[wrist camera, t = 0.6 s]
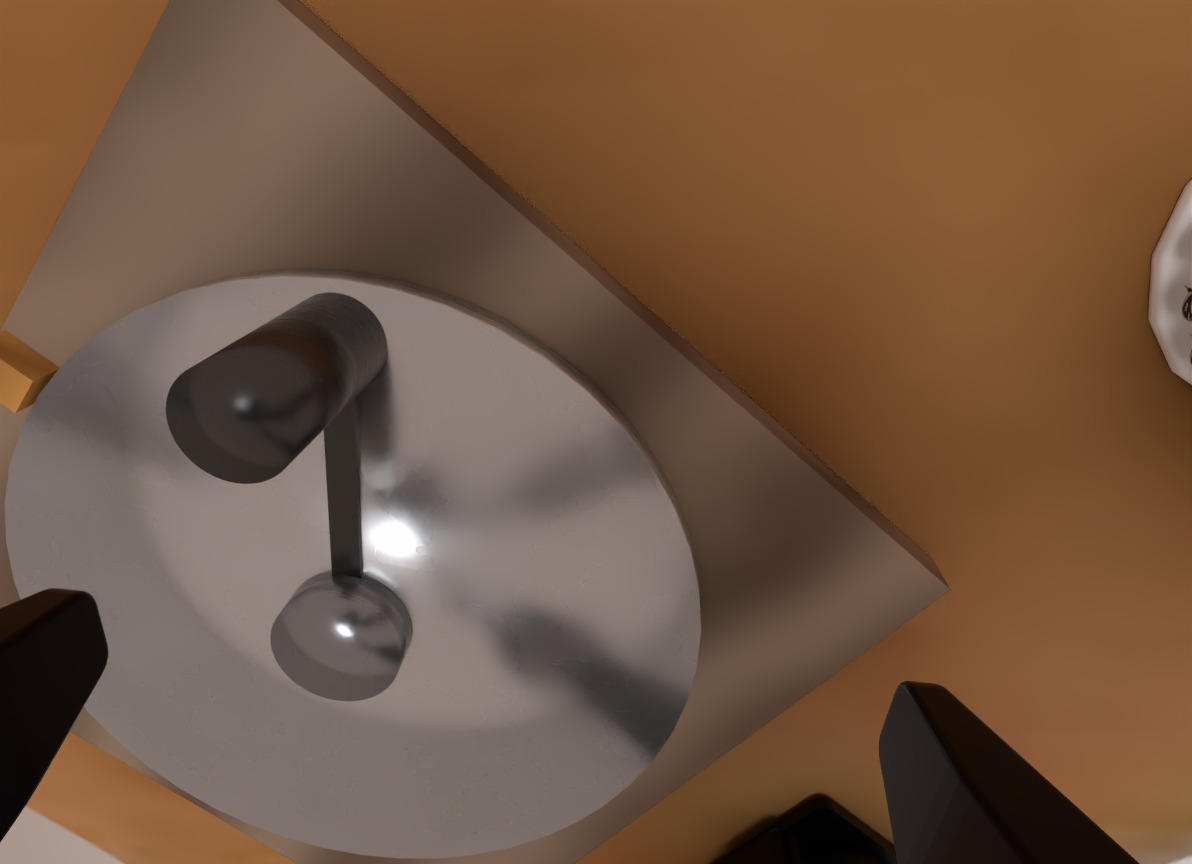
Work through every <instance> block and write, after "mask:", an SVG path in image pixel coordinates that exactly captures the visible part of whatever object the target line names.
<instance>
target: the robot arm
mask: <svg viewBox="0 0 1192 864" xmlns="http://www.w3.org/2000/svg"><path fill="white" fill-rule="evenodd" d="M107 660H108V644H107V640H106V636H105V633H104V629H103V625H102V621H101V617H100V614H99V610H98V606H97V603H96V600H95V598H94V597H93V596H92V595H91V594H90V593H88V592H85V591H80V590H71V589H62V588H50V589H45V590H43V591H40V592H38V593H35V594H33V595H31V596H28V597H26V598H24V599H21V600H19V601H16V602H14V603H12V604H9V605H7V606H5V607H2V608H0V842H1V840H2V839H3V837H4V836H5V835H6V833H7V832H8V831H9V829H10V827H11V826H12V825H13V823H14V822H15V820H16V819H17V817H18V816H19V814H20V813H21V811H22V810H23V808H24V807H25V806H26V804H27V802H28V801H29V799H30V798H31V796H32V794H33V793H34V791H35V789H36V788H37V786H38V785H39V783H40V781H41V780H42V778H43V776H44V774H45V773H46V771H47V769H48V768H49V766H50V764H51V762H52V761H53V759H54V757H55V755H56V754H57V752H58V750H59V748H60V747H61V745H62V743H63V741H64V740H65V738H66V736H67V735H68V733H69V731H70V729H71V728H72V726H73V724H74V722H75V721H76V719H77V717H78V715H79V714H80V712H81V710H82V708H83V707H84V705H85V703H86V702H87V700H88V698H89V696H90V695H91V693H92V691H93V689H94V688H95V686H96V684H97V682H98V681H99V679H100V677H101V676H102V674H103V672H104V669H105V667H106V664H107ZM879 757H880V763H881V769H882V775H883V781H884V786H885V792H886V798H887V804H888V810H889V815H890V821H891V827H892V833H893V839H894V845H895V848H894V847H893V846H892V845H890V844H889V843H888V842H886V841H885V840H884V839H882V838H881V837H880V836H878V835H877V834H876V833H874V832H873V831H872V830H870V829H869V828H867V827H866V826H865V825H863V824H862V823H861V822H859V821H858V820H857V819H855V818H854V817H853V816H851V815H850V814H849V813H847V812H846V811H845V810H843V809H842V808H840V807H839V806H838V805H836V804H835V803H834V802H832V801H831V800H829V799H827V798H815V799H813V800H811V801H809V802H808V803H806V804H805V805H803V806H802V807H800V808H799V809H797V810H796V811H794V812H793V813H791V814H790V815H788V816H787V817H785V818H784V819H782V820H780V821H779V822H777V823H776V824H774V825H773V826H771V827H770V828H768V829H767V830H765V831H764V832H762V833H761V834H759V835H758V836H756V837H755V838H753V839H752V840H750V841H749V842H747V843H746V844H744V845H743V846H741V847H740V848H738V849H737V850H735V851H733V852H732V853H730V854H729V855H727V856H726V857H724V858H723V859H721V860H720V861H718V862H717V863H715V864H1139V863H1138V862H1137V861H1136V860H1135V859H1134V858H1133V857H1132V856H1131V855H1130V854H1128V853H1127V852H1126V851H1125V850H1124V849H1123V848H1122V847H1121V846H1120V845H1118V844H1117V843H1116V842H1115V841H1114V840H1113V839H1112V838H1111V837H1110V836H1109V835H1107V834H1106V833H1105V832H1104V831H1103V830H1102V829H1101V828H1100V827H1099V826H1097V825H1096V824H1095V823H1094V822H1093V821H1092V820H1091V819H1090V818H1089V817H1088V816H1086V815H1085V814H1084V813H1083V812H1082V811H1081V810H1080V809H1079V808H1078V807H1076V806H1075V805H1074V804H1073V803H1072V802H1071V801H1070V800H1069V799H1068V798H1067V797H1065V796H1064V795H1063V794H1062V793H1061V792H1060V791H1059V790H1058V789H1057V788H1055V787H1054V786H1053V785H1052V784H1051V783H1050V782H1049V781H1048V780H1047V779H1046V778H1044V777H1043V776H1042V775H1041V774H1040V773H1039V772H1038V771H1037V770H1036V769H1034V768H1033V767H1032V766H1031V765H1030V764H1029V763H1028V762H1027V761H1026V760H1025V759H1023V758H1022V757H1021V756H1020V755H1019V754H1018V753H1017V752H1016V751H1015V750H1013V749H1012V748H1011V747H1010V746H1009V745H1008V744H1007V743H1006V742H1005V741H1004V740H1002V739H1001V738H1000V737H999V736H998V735H997V734H996V733H995V732H994V731H992V730H991V729H990V728H989V727H988V726H987V725H986V724H985V723H984V722H983V721H981V720H980V719H979V718H978V717H977V716H976V715H975V714H974V713H973V712H971V711H970V710H969V709H968V708H967V707H966V706H965V705H964V704H963V703H962V702H960V701H959V700H958V699H957V698H956V697H955V696H954V695H953V694H952V693H950V692H949V691H948V690H947V689H946V688H944V687H943V686H941V685H938V684H932V683H923V682H914V681H905V682H902V683H901V684H900V685H899V686H898V688H897V690H896V692H895V694H894V697H893V700H892V703H891V706H890V708H889V711H888V714H887V717H886V720H885V723H884V725H883V728H882V731H881V734H880V740H879Z"/></svg>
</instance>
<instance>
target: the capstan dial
mask: <svg viewBox="0 0 1192 864" xmlns="http://www.w3.org/2000/svg"><path fill="white" fill-rule="evenodd" d="M5 526H6V543H7V549H8V554H9V559H10V564H11V569H12V574H13V579H14V582H15V585H16V588H17V591H18V594H19V596H20V599H24V598H26V597H28V596H31V595H33V594H35V593H38V592H40V591H43V590H45V589H50V588H62V589H71V590H80V591H85V592H88V593H90V594H91V595H92V596H93V597H94V598H95V600H96V603H97V606H98V610H99V614H100V617H101V621H102V625H103V629H104V633H105V636H106V640H107V644H108V660H107V664H106V667H105V669H104V672H103V674H102V676H101V677H100V679H99V681H98V682H97V684H96V686H95V688H94V689H93V691H92V693H91V695H90V696H89V698H88V700H87V702H86V703H85V705H84V707H85V708H86V710H87V711H88V712H89V713H90V714H91V715H92V716H93V717H94V718H95V719H96V720H97V721H98V722H99V723H100V724H101V725H102V726H103V727H104V728H105V729H106V730H107V731H108V732H109V733H110V734H111V735H112V736H113V737H114V738H115V739H116V740H117V741H118V742H119V743H120V744H121V745H123V746H124V747H125V748H126V749H127V750H129V751H130V752H131V753H132V754H133V755H135V756H136V757H137V758H138V759H139V760H141V761H142V762H143V763H144V764H145V765H147V766H148V767H149V768H151V769H152V770H154V771H155V772H157V773H158V774H159V775H161V776H162V777H164V778H165V779H167V780H168V781H170V782H171V783H173V784H174V785H176V786H177V787H178V788H180V789H181V790H183V791H185V792H187V793H189V794H190V795H192V796H194V797H196V798H197V799H199V800H201V801H203V802H204V803H206V804H208V805H210V806H211V807H213V808H215V809H217V810H219V811H222V812H224V813H226V814H228V815H230V816H232V817H235V818H237V819H239V820H241V821H243V822H245V823H248V824H250V825H252V826H255V827H258V828H261V829H263V830H266V831H269V832H272V833H274V834H277V835H280V836H283V837H286V838H289V839H292V840H296V841H300V842H303V843H307V844H311V845H315V846H318V847H322V848H326V849H332V850H337V851H343V852H348V853H354V854H359V855H367V856H378V857H389V858H417V859H437V858H448V857H459V856H469V855H476V854H481V853H487V852H492V851H497V850H502V849H507V848H511V847H514V846H517V845H521V844H524V843H527V842H530V841H534V840H537V839H540V838H543V837H545V836H547V835H550V834H552V833H554V832H556V831H559V830H561V829H563V828H566V827H568V826H570V825H572V824H574V823H576V822H578V821H579V820H581V819H583V818H584V817H586V816H588V815H590V814H591V813H593V812H595V811H596V810H598V809H600V808H601V807H603V806H604V805H605V804H607V803H608V802H609V801H611V800H612V799H613V798H614V797H616V796H617V795H618V794H619V793H621V792H622V791H623V790H624V789H626V788H627V787H628V786H630V784H631V783H632V782H633V781H634V780H635V779H636V778H637V777H638V776H639V775H640V774H641V773H642V772H643V771H644V770H645V769H646V768H647V766H648V765H649V764H650V763H651V762H652V761H653V760H654V758H655V757H656V756H657V754H658V753H659V751H660V750H661V748H662V747H663V745H664V744H665V743H666V741H667V740H668V738H669V737H670V735H671V734H672V732H673V730H674V728H675V726H676V724H677V722H678V720H679V718H680V715H681V713H682V711H683V709H684V707H685V705H686V703H687V700H688V697H689V693H690V690H691V686H692V683H693V679H694V676H695V672H696V669H697V663H698V654H699V645H700V636H701V618H700V597H699V583H698V572H697V566H696V562H695V557H694V552H693V547H692V543H691V538H690V533H689V530H688V527H687V524H686V522H685V519H684V516H683V514H682V511H681V508H680V506H679V503H678V500H677V498H676V495H675V492H674V490H673V489H672V487H671V485H670V483H669V481H668V479H667V478H666V476H665V474H664V472H663V470H662V468H661V467H660V465H659V463H658V461H657V459H656V458H655V456H654V454H653V452H652V451H651V450H650V448H649V447H648V445H647V444H646V443H645V441H644V440H643V439H642V437H641V436H640V435H639V433H638V432H637V431H636V429H635V428H634V427H633V425H632V424H631V423H630V421H629V420H628V419H627V417H626V416H625V415H624V414H623V413H622V411H621V410H620V409H619V408H618V407H617V406H616V405H615V404H614V403H613V402H612V401H611V400H610V399H609V398H608V397H607V396H606V395H605V394H604V393H603V392H602V391H601V390H600V389H599V388H598V387H597V386H596V385H595V384H594V383H593V382H592V381H591V379H589V378H588V377H587V376H586V375H584V374H583V373H582V372H581V371H579V370H578V369H577V368H576V367H574V366H573V365H572V364H571V363H569V362H568V361H567V360H566V359H564V358H563V357H562V356H561V355H559V354H558V353H557V352H556V351H554V350H553V349H552V348H551V347H549V346H548V345H546V344H544V343H543V342H541V341H539V340H538V339H536V338H535V337H533V336H531V335H530V334H528V333H526V332H525V331H523V330H522V329H520V328H518V327H517V326H515V325H513V324H512V323H510V322H509V321H507V320H505V319H503V318H501V317H499V316H497V315H495V314H492V313H490V312H488V311H486V310H484V309H481V308H479V307H477V306H475V305H473V304H471V303H468V302H466V301H464V300H462V299H460V298H457V297H455V296H452V295H449V294H446V293H442V292H439V291H436V290H433V289H430V288H427V287H423V286H420V285H417V284H414V283H411V282H408V281H404V280H399V279H394V278H388V277H383V276H377V275H372V274H367V273H361V272H356V271H347V270H327V269H308V268H294V269H282V270H270V271H259V272H248V273H244V274H240V275H235V276H231V277H227V278H222V279H218V280H214V281H210V282H205V283H201V284H199V285H196V286H194V287H191V288H189V289H187V290H184V291H182V292H179V293H177V294H174V295H172V296H169V297H167V298H164V299H162V300H159V301H157V302H154V303H152V304H150V305H147V306H145V307H143V308H140V309H138V310H135V311H133V312H132V313H130V314H128V315H127V316H125V317H124V318H122V319H120V320H119V321H117V322H115V323H114V324H112V325H110V326H109V327H107V328H106V329H104V330H102V331H101V332H99V333H97V334H96V335H95V336H94V337H92V338H91V339H90V340H89V341H88V342H87V343H86V344H84V345H83V346H82V347H81V348H80V349H79V350H78V351H77V352H75V353H74V354H73V355H72V356H71V357H70V358H69V359H67V360H66V361H65V362H64V363H63V364H62V366H61V367H60V368H59V369H58V371H57V372H56V373H55V375H54V376H53V377H52V378H51V380H50V381H49V382H48V383H47V385H46V386H45V387H44V389H43V390H42V391H41V392H40V394H39V395H38V397H37V399H36V401H35V403H34V405H33V407H32V408H31V410H30V412H29V414H28V416H27V418H26V420H25V422H24V424H23V426H22V428H21V430H20V433H19V436H18V439H17V443H16V446H15V449H14V452H13V456H12V459H11V462H10V465H9V472H8V480H7V488H6V497H5Z"/></svg>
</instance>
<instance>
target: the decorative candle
mask: <svg viewBox="0 0 1192 864" xmlns="http://www.w3.org/2000/svg"><path fill="white" fill-rule="evenodd" d="M1148 321H1149V323H1150V325H1151V328H1152V330H1153V332H1154V334H1155V336H1156V339H1157V341H1158V343H1159V345H1160V347H1161V350H1162V352H1163V354H1164V356H1165V358H1166V361H1167V363H1168V365H1169V367H1170V369H1171V371H1172V372H1174V373H1175V374H1177V375H1178V376H1179V377H1181V378H1182V379H1184V380H1185V381H1186V382H1188V383H1189V384H1191V385H1192V179H1191V180H1190V181H1189V182H1188V183H1187V184H1186V185H1185V187H1184V189H1183V191H1182V193H1181V195H1180V197H1179V199H1178V201H1177V203H1176V206H1175V208H1174V210H1173V212H1172V214H1171V216H1170V218H1169V220H1168V222H1167V225H1166V227H1165V229H1164V231H1163V233H1162V235H1161V237H1160V239H1159V241H1158V243H1157V246H1156V248H1155V250H1154V252H1153V254H1152V259H1151V276H1150V293H1149V309H1148Z"/></svg>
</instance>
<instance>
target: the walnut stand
mask: <svg viewBox="0 0 1192 864" xmlns="http://www.w3.org/2000/svg"><path fill="white" fill-rule="evenodd" d="M294 268H308V269H327V270H347V271H356V272H361V273H367V274H372V275H377V276H383V277H388V278H394V279H399V280H404V281H408V282H411V283H414V284H417V285H420V286H423V287H427V288H430V289H433V290H436V291H439V292H442V293H446V294H449V295H452V296H455V297H457V298H460V299H462V300H464V301H466V302H468V303H471V304H473V305H475V306H477V307H479V308H481V309H484V310H486V311H488V312H490V313H492V314H495V315H497V316H499V317H501V318H503V319H505V320H507V321H509V322H510V323H512V324H513V325H515V326H517V327H518V328H520V329H522V330H523V331H525V332H526V333H528V334H530V335H531V336H533V337H535V338H536V339H538V340H539V341H541V342H543V343H544V344H546V345H548V346H549V347H551V348H552V349H553V350H554V351H556V352H557V353H558V354H559V355H561V356H562V357H563V358H564V359H566V360H567V361H568V362H569V363H571V364H572V365H573V366H574V367H576V368H577V369H578V370H579V371H581V372H582V373H583V374H584V375H586V376H587V377H588V378H589V379H591V381H592V382H593V383H594V384H595V385H596V386H597V387H598V388H599V389H600V390H601V391H602V392H603V393H604V394H605V395H606V396H607V397H608V398H609V399H610V400H611V401H612V402H613V403H614V404H615V405H616V406H617V407H618V408H619V409H620V410H621V411H622V413H623V414H624V415H625V416H626V417H627V419H628V420H629V421H630V423H631V424H632V425H633V427H634V428H635V429H636V431H637V432H638V433H639V435H640V436H641V437H642V439H643V440H644V441H645V443H646V444H647V445H648V447H649V448H650V450H651V451H652V452H653V454H654V456H655V458H656V459H657V461H658V463H659V465H660V467H661V468H662V470H663V472H664V474H665V476H666V478H667V479H668V481H669V483H670V485H671V487H672V489H673V490H674V492H675V495H676V498H677V500H678V503H679V506H680V508H681V511H682V514H683V516H684V519H685V522H686V524H687V527H688V530H689V533H690V538H691V543H692V547H693V552H694V557H695V562H696V566H697V572H698V583H699V597H700V618H701V636H700V645H699V654H698V663H697V669H696V672H695V676H694V679H693V683H692V686H691V690H690V693H689V697H688V700H687V703H686V705H685V707H684V709H683V711H682V713H681V715H680V718H679V720H678V722H677V724H676V726H675V728H674V730H673V732H672V734H671V735H670V737H669V738H668V740H667V741H666V743H665V744H664V745H663V747H662V748H661V750H660V751H659V753H658V754H657V756H656V757H655V758H654V760H653V761H652V762H651V763H650V764H649V765H648V766H647V768H646V769H645V770H644V771H643V772H642V773H641V774H640V775H639V776H638V777H637V778H636V779H635V780H634V781H633V782H632V783H631V784H630V786H628V787H627V788H626V789H624V790H623V791H622V792H621V793H619V794H618V795H617V796H616V797H614V798H613V799H612V800H611V801H609V802H608V803H607V804H605V805H604V806H603V807H601V808H600V809H598V810H596V811H595V812H593V813H591V814H590V815H588V816H586V817H584V818H583V819H581V820H579V821H578V822H576V823H574V824H572V825H570V826H568V827H566V828H563V829H561V830H559V831H556V832H554V833H552V834H550V835H547V836H545V837H543V838H540V839H537V840H534V841H530V842H527V843H524V844H521V845H517V846H514V847H511V848H507V849H502V850H497V851H492V852H487V853H481V854H476V855H469V856H459V857H448V858H437V859H417V858H389V857H378V856H367V855H359V854H354V853H348V852H343V851H337V850H332V849H326V848H322V847H318V846H315V845H311V844H307V843H303V842H300V841H296V840H292V839H289V838H286V837H283V836H280V835H277V834H274V833H272V832H269V831H266V830H263V829H261V828H258V827H255V826H252V825H250V824H248V823H245V822H243V821H241V820H239V819H237V818H235V817H232V816H230V815H228V814H226V813H224V812H222V811H219V810H217V809H215V808H213V807H211V806H210V805H208V804H206V803H204V802H203V801H201V800H199V799H197V798H196V797H194V796H192V795H190V794H189V793H187V792H185V791H183V790H181V789H180V788H178V787H177V786H176V785H174V784H173V783H171V782H170V781H168V780H167V779H165V778H164V777H162V776H161V775H159V774H158V773H157V772H155V771H154V770H152V769H151V768H149V767H148V766H147V765H145V764H144V763H143V762H142V761H141V760H139V759H138V758H137V757H136V756H135V755H133V754H132V753H131V752H130V751H129V750H127V749H126V748H125V747H124V746H123V745H121V744H120V743H119V742H118V741H117V740H116V739H115V738H114V737H113V736H112V735H111V734H110V733H109V732H108V731H107V730H106V729H105V728H104V727H103V726H102V725H101V724H100V723H99V722H98V721H97V720H96V719H95V718H94V717H93V716H92V715H91V714H90V713H89V712H88V711H87V710H86V708H85V707H83V708H82V710H81V712H80V714H79V715H78V717H77V719H76V721H75V722H74V724H73V726H72V728H71V729H70V732H72V733H74V734H75V735H77V736H79V737H81V738H82V739H84V740H86V741H87V742H89V743H91V744H93V745H94V746H96V747H98V748H99V749H101V750H103V751H105V752H106V753H108V754H110V755H112V756H113V757H115V758H117V759H118V760H120V761H122V762H124V763H125V764H127V765H129V766H130V767H132V768H134V769H136V770H137V771H139V772H141V773H142V774H144V775H146V776H148V777H149V778H151V779H153V780H154V781H156V782H158V783H160V784H161V785H163V786H165V787H166V788H168V789H170V790H172V791H173V792H175V793H177V794H178V795H180V796H182V797H184V798H185V799H187V800H189V801H190V802H192V803H194V804H196V805H197V806H199V807H201V808H202V809H204V810H206V811H208V812H209V813H211V814H213V815H214V816H216V817H218V818H220V819H221V820H223V821H225V822H226V823H228V824H230V825H232V826H233V827H235V828H237V829H238V830H240V831H242V832H244V833H245V834H247V835H249V836H250V837H252V838H254V839H256V840H257V841H259V842H261V843H263V844H264V845H266V846H268V847H269V848H271V849H273V850H275V851H276V852H278V853H280V854H281V855H283V856H285V857H287V858H288V859H290V860H292V861H293V862H295V863H297V864H574V863H576V862H577V861H579V860H580V859H581V858H583V857H584V856H585V855H587V854H588V853H590V852H591V851H592V850H594V849H595V848H596V847H598V846H599V845H601V844H602V843H603V842H605V841H606V840H607V839H609V838H610V837H611V836H613V835H614V834H616V833H617V832H618V831H620V830H621V829H622V828H624V827H625V826H627V825H628V824H629V823H631V822H632V821H633V820H635V819H636V818H638V817H639V816H640V815H642V814H643V813H644V812H646V811H647V810H649V809H650V808H651V807H653V806H654V805H655V804H657V803H658V802H660V801H661V800H662V799H664V798H665V797H666V796H668V795H669V794H671V793H672V792H673V791H675V790H676V789H677V788H679V787H680V786H682V785H683V784H684V783H686V782H687V781H688V780H690V779H691V778H693V777H694V776H695V775H697V774H698V773H699V772H701V771H702V770H703V769H705V768H706V767H708V766H709V765H710V764H712V763H713V762H714V761H716V760H717V759H719V758H720V757H721V756H723V755H724V754H725V753H727V752H728V751H730V750H731V749H732V748H734V747H735V746H736V745H738V744H739V743H741V742H742V741H743V740H745V739H746V738H747V737H749V736H750V735H752V734H753V733H754V732H756V731H757V730H758V729H760V728H761V727H763V726H764V725H765V724H767V723H768V722H769V721H771V720H772V719H774V718H775V717H776V716H778V715H779V714H780V713H782V712H783V711H785V710H786V709H787V708H789V707H790V706H791V705H793V704H794V703H795V702H797V701H798V700H800V699H801V698H802V697H804V696H805V695H806V694H808V693H809V692H811V691H812V690H813V689H815V688H816V687H817V686H819V685H820V684H822V683H823V682H824V681H826V680H827V679H828V678H830V677H831V676H833V675H834V674H835V673H837V672H838V671H839V670H841V669H842V668H844V667H845V666H846V665H848V664H849V663H850V662H852V661H853V660H855V659H856V658H857V657H859V656H860V655H861V654H863V653H864V652H866V651H867V650H868V649H870V648H871V647H872V646H874V645H875V644H877V643H878V642H879V641H881V640H882V639H883V638H885V637H886V636H887V635H889V634H890V633H892V632H893V631H894V630H896V629H897V628H898V627H900V626H901V625H903V624H904V623H905V622H907V621H908V620H909V619H911V618H912V617H914V616H915V615H916V614H918V613H919V612H920V611H922V610H923V609H925V608H926V607H927V606H929V605H930V604H931V603H933V602H934V601H936V600H937V599H938V598H940V597H941V596H942V595H944V594H945V593H947V592H948V591H949V590H951V589H950V588H949V586H948V584H947V583H946V581H945V579H944V577H943V576H942V574H941V572H940V571H939V569H938V567H937V566H936V564H935V562H934V561H933V559H932V558H931V557H930V556H929V555H927V554H926V553H925V552H924V551H923V550H922V549H921V548H919V547H918V546H917V545H916V544H915V543H914V542H913V541H912V540H910V539H909V538H908V537H907V536H906V535H905V534H904V533H902V532H901V531H900V530H899V529H898V528H897V527H896V526H894V525H893V524H892V523H891V522H890V521H889V520H888V519H887V518H885V517H884V516H883V515H882V514H881V513H880V512H879V511H877V510H876V509H875V508H874V507H873V506H872V505H871V504H870V503H868V502H867V501H866V500H865V499H864V498H863V497H862V496H860V495H859V494H858V493H857V492H856V491H855V490H854V489H852V488H851V487H850V486H849V485H848V484H847V483H846V482H845V481H843V480H842V479H841V478H840V477H839V476H838V475H837V474H835V473H834V472H833V471H832V470H831V469H830V468H829V467H828V466H826V465H825V464H824V463H823V462H822V461H821V460H820V459H818V458H817V457H816V456H815V455H814V454H813V453H812V452H811V451H809V450H808V449H807V448H806V447H805V446H804V445H803V444H801V443H800V442H799V441H798V440H797V439H796V438H795V437H793V436H792V435H791V434H790V433H789V432H788V431H787V430H786V429H784V428H783V427H782V426H781V425H780V424H779V423H778V422H776V421H775V420H774V419H773V418H772V417H771V416H770V415H769V414H767V413H766V412H765V411H764V410H763V409H762V408H761V407H759V406H758V405H757V404H756V403H755V402H754V401H753V400H752V399H750V398H749V397H748V396H747V395H746V394H745V393H744V392H742V391H741V390H740V389H739V388H738V387H737V386H736V385H734V384H733V383H732V382H731V381H730V380H729V379H728V378H727V377H725V376H724V375H723V374H722V373H721V372H720V371H719V370H717V369H716V368H715V367H714V366H713V365H712V364H711V363H710V362H708V361H707V360H706V359H705V358H704V357H703V356H702V355H700V354H699V353H698V352H697V351H696V350H695V349H694V348H692V347H691V346H690V345H689V344H688V343H687V342H686V341H685V340H683V339H682V338H681V337H680V336H679V335H678V334H677V333H675V332H674V331H673V330H672V329H671V328H670V327H669V326H668V325H666V324H665V323H664V322H663V321H662V320H661V319H660V318H658V317H657V316H656V315H655V314H654V313H653V312H652V311H651V310H649V309H648V308H647V307H646V306H645V305H644V304H643V303H641V302H640V301H639V300H638V299H637V298H636V297H635V296H633V295H632V294H631V293H630V292H629V291H628V290H627V289H626V288H624V287H623V286H622V285H621V284H620V283H619V282H618V281H616V280H615V279H614V278H613V277H612V276H611V275H610V274H609V273H607V272H606V271H605V270H604V269H603V268H602V267H601V266H599V265H598V264H597V263H596V262H595V261H594V260H593V259H592V258H590V257H589V256H588V255H587V254H586V253H585V252H584V251H582V250H581V249H580V248H579V247H578V246H577V245H576V244H574V243H573V242H572V241H571V240H570V239H569V238H568V237H567V236H565V235H564V234H563V233H562V232H561V231H560V230H559V229H557V228H556V227H555V226H554V225H553V224H552V223H551V222H550V221H548V220H547V219H546V218H545V217H544V216H543V215H542V214H540V213H539V212H538V211H537V210H536V209H535V208H534V207H532V206H531V205H530V204H529V203H528V202H527V201H526V200H525V199H523V198H522V197H521V196H520V195H519V194H518V193H517V192H515V191H514V190H513V189H512V188H511V187H510V186H509V185H508V184H506V183H505V182H504V181H503V180H502V179H501V178H500V177H498V176H497V175H496V174H495V173H494V172H493V171H492V170H491V169H489V168H488V167H487V166H486V165H485V164H484V163H483V162H481V161H480V160H479V159H478V158H477V157H476V156H475V155H473V154H472V153H471V152H470V151H469V150H468V149H467V148H466V147H464V146H463V145H462V144H461V143H460V142H459V141H458V140H456V139H455V138H454V137H453V136H452V135H451V134H450V133H449V132H447V131H446V130H445V129H444V128H443V127H442V126H441V125H439V124H438V123H437V122H436V121H435V120H434V119H433V118H432V117H430V116H429V115H428V114H427V113H426V112H425V111H424V110H422V109H421V108H420V107H419V106H418V105H417V104H416V103H414V102H413V101H412V100H411V99H410V98H409V97H408V96H407V95H405V94H404V93H403V92H402V91H401V90H400V89H399V88H397V87H396V86H395V85H394V84H393V83H392V82H391V81H390V80H388V79H387V78H386V77H385V76H384V75H383V74H382V73H380V72H379V71H378V70H377V69H376V68H375V67H374V66H372V65H371V64H370V63H369V62H368V61H367V60H366V59H365V58H363V57H362V56H361V55H360V54H359V53H358V52H357V51H355V50H354V49H353V48H352V47H351V46H350V45H349V44H348V43H346V42H345V41H344V40H343V39H342V38H341V37H340V36H338V35H337V34H336V33H335V32H334V31H333V30H332V29H331V28H329V27H328V26H327V25H326V24H325V23H324V22H323V21H321V20H320V19H319V18H318V17H317V16H316V15H315V14H313V13H312V12H311V11H310V10H309V9H308V8H307V7H306V6H304V5H303V4H302V3H301V2H300V1H299V0H169V2H168V4H167V6H166V8H165V10H164V12H163V14H162V16H161V18H160V20H159V22H158V24H157V26H156V28H155V30H154V32H153V34H152V36H151V38H150V39H149V41H148V43H147V45H146V47H145V49H144V51H143V53H142V55H141V57H140V59H139V61H138V63H137V65H136V67H135V69H134V71H133V73H132V75H131V77H130V79H129V81H128V82H127V84H126V86H125V88H124V90H123V92H122V94H121V96H120V98H119V100H118V102H117V104H116V106H115V108H114V110H113V112H112V114H111V116H110V118H109V120H108V122H107V124H106V126H105V127H104V129H103V131H102V133H101V135H100V137H99V139H98V141H97V143H96V145H95V147H94V149H93V151H92V153H91V155H90V157H89V159H88V161H87V163H86V165H85V167H84V169H83V170H82V172H81V174H80V176H79V178H78V180H77V182H76V184H75V186H74V188H73V190H72V192H71V194H70V196H69V198H68V200H67V202H66V204H65V206H64V208H63V210H62V212H61V213H60V215H59V217H58V219H57V221H56V223H55V225H54V227H53V229H52V231H51V233H50V235H49V237H48V239H47V241H46V243H45V245H44V247H43V249H42V251H41V253H40V255H39V256H38V258H37V260H36V262H35V264H34V266H33V268H32V270H31V272H30V274H29V276H28V278H27V280H26V282H25V284H24V286H23V288H22V290H21V292H20V294H19V296H18V298H17V299H16V301H15V303H14V305H13V307H12V309H11V311H10V313H9V315H8V317H7V319H6V321H5V323H4V325H3V327H2V329H1V331H0V608H2V607H5V606H7V605H9V604H12V603H14V602H16V601H19V600H21V599H20V596H19V594H18V591H17V588H16V585H15V582H14V579H13V574H12V569H11V564H10V559H9V554H8V549H7V543H6V526H5V497H6V488H7V480H8V472H9V465H10V462H11V459H12V456H13V452H14V449H15V446H16V443H17V439H18V436H19V433H20V430H21V428H22V426H23V424H24V422H25V420H26V418H27V416H28V414H29V412H30V410H31V408H32V407H33V405H34V403H35V401H36V399H37V397H38V395H39V394H40V392H41V391H42V390H43V389H44V387H45V386H46V385H47V383H48V382H49V381H50V380H51V378H52V377H53V376H54V375H55V373H56V372H57V371H58V369H59V368H60V367H61V366H62V364H63V363H64V362H65V361H66V360H67V359H69V358H70V357H71V356H72V355H73V354H74V353H75V352H77V351H78V350H79V349H80V348H81V347H82V346H83V345H84V344H86V343H87V342H88V341H89V340H90V339H91V338H92V337H94V336H95V335H96V334H97V333H99V332H101V331H102V330H104V329H106V328H107V327H109V326H110V325H112V324H114V323H115V322H117V321H119V320H120V319H122V318H124V317H125V316H127V315H128V314H130V313H132V312H133V311H135V310H138V309H140V308H143V307H145V306H147V305H150V304H152V303H154V302H157V301H159V300H162V299H164V298H167V297H169V296H172V295H174V294H177V293H179V292H182V291H184V290H187V289H189V288H191V287H194V286H196V285H199V284H201V283H205V282H210V281H214V280H218V279H222V278H227V277H231V276H235V275H240V274H244V273H248V272H259V271H270V270H282V269H294Z"/></svg>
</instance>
